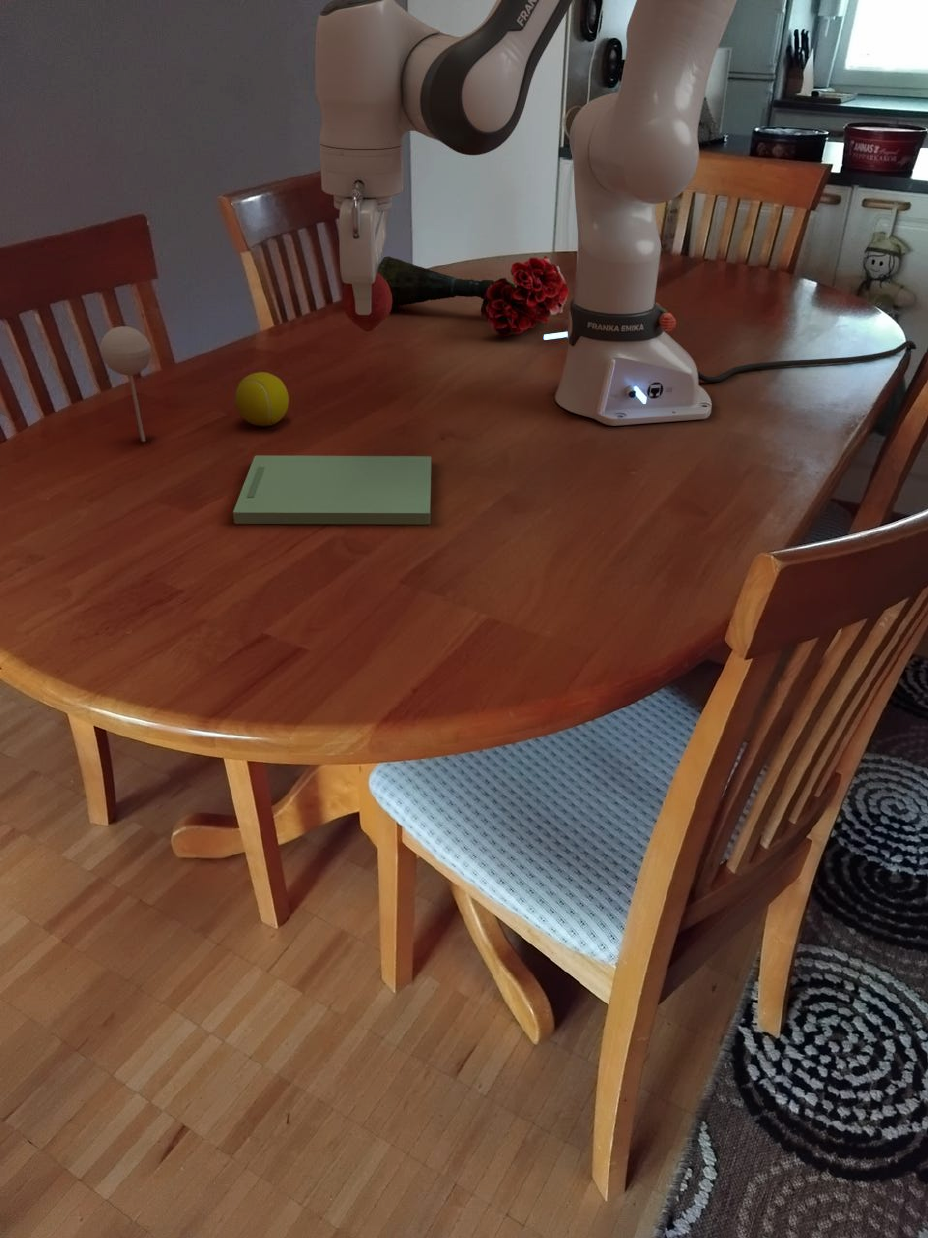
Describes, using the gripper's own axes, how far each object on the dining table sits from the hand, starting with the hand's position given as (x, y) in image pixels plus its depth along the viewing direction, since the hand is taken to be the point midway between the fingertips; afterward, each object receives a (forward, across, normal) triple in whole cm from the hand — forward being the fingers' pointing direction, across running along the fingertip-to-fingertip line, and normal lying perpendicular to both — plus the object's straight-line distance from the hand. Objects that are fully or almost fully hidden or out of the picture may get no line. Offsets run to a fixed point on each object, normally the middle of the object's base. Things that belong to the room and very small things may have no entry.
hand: (366, 303), depth 109 cm
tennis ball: (+20, +11, +15) cm, 27 cm away
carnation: (+20, +57, -13) cm, 62 cm away
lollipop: (+20, +5, +30) cm, 37 cm away
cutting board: (+20, -10, +3) cm, 22 cm away
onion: (+3, 0, 0) cm, 3 cm away
